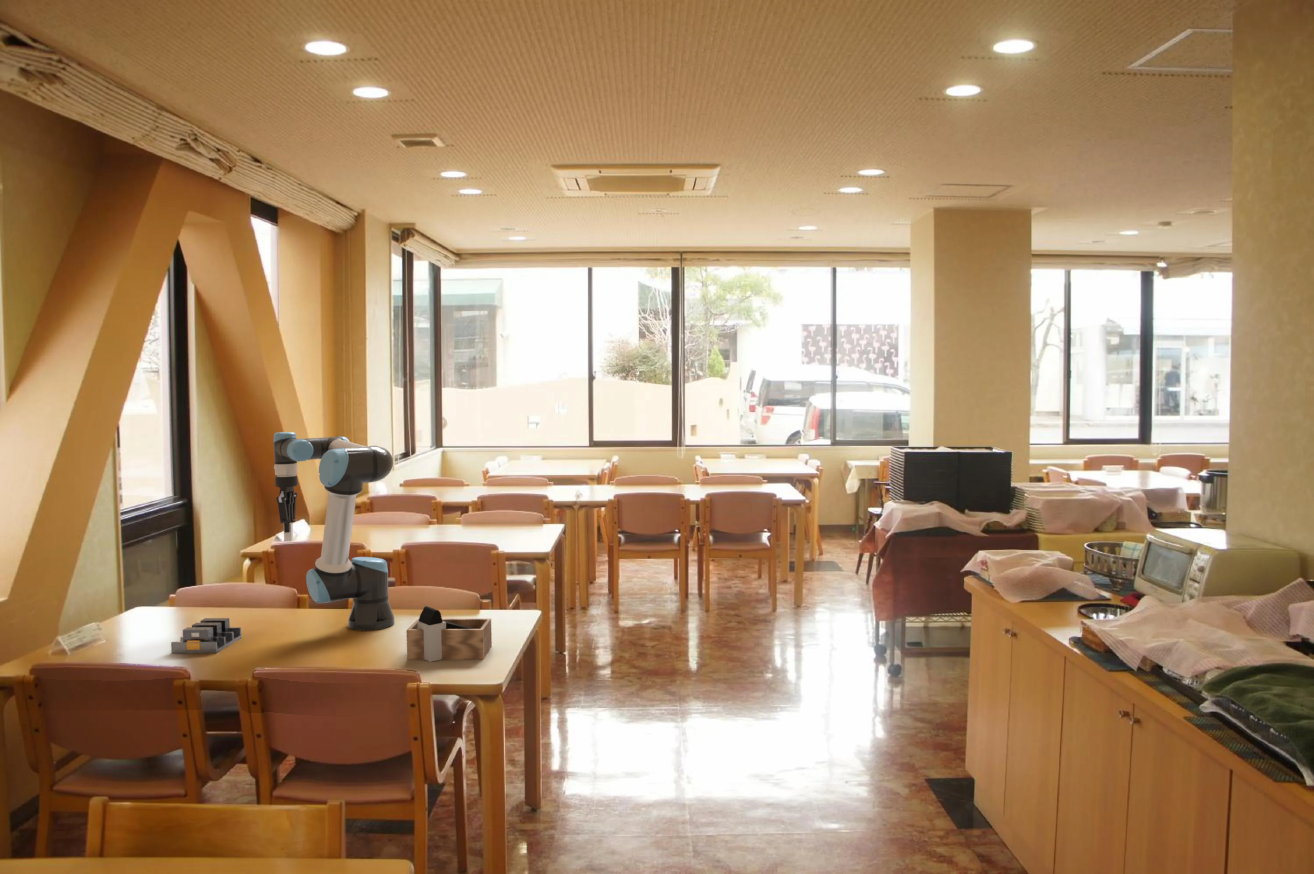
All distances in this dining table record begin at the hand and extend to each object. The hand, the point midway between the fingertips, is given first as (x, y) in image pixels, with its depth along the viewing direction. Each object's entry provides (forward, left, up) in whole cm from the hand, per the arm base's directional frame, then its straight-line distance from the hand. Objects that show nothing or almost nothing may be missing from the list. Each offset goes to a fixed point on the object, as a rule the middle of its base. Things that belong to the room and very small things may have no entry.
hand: (288, 540), depth 341 cm
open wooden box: (-69, +49, -26) cm, 89 cm away
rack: (+11, +40, -26) cm, 49 cm away
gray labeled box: (+11, +45, -25) cm, 53 cm away
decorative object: (-69, +49, -27) cm, 89 cm away
